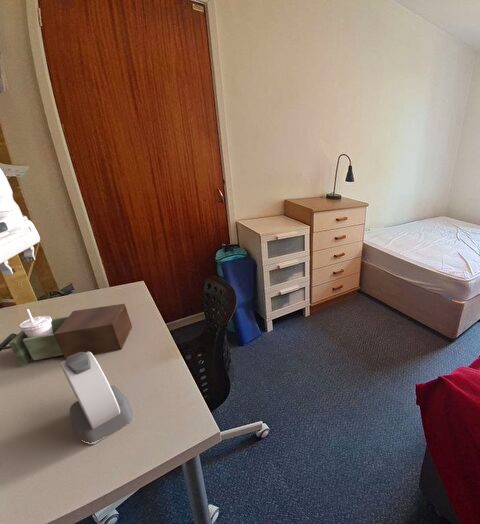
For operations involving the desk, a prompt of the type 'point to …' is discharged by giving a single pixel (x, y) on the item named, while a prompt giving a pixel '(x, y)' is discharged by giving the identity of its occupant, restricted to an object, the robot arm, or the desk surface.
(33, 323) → the smoothie
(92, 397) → the headphone stand
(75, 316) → the cabinet
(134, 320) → the desk surface
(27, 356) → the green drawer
